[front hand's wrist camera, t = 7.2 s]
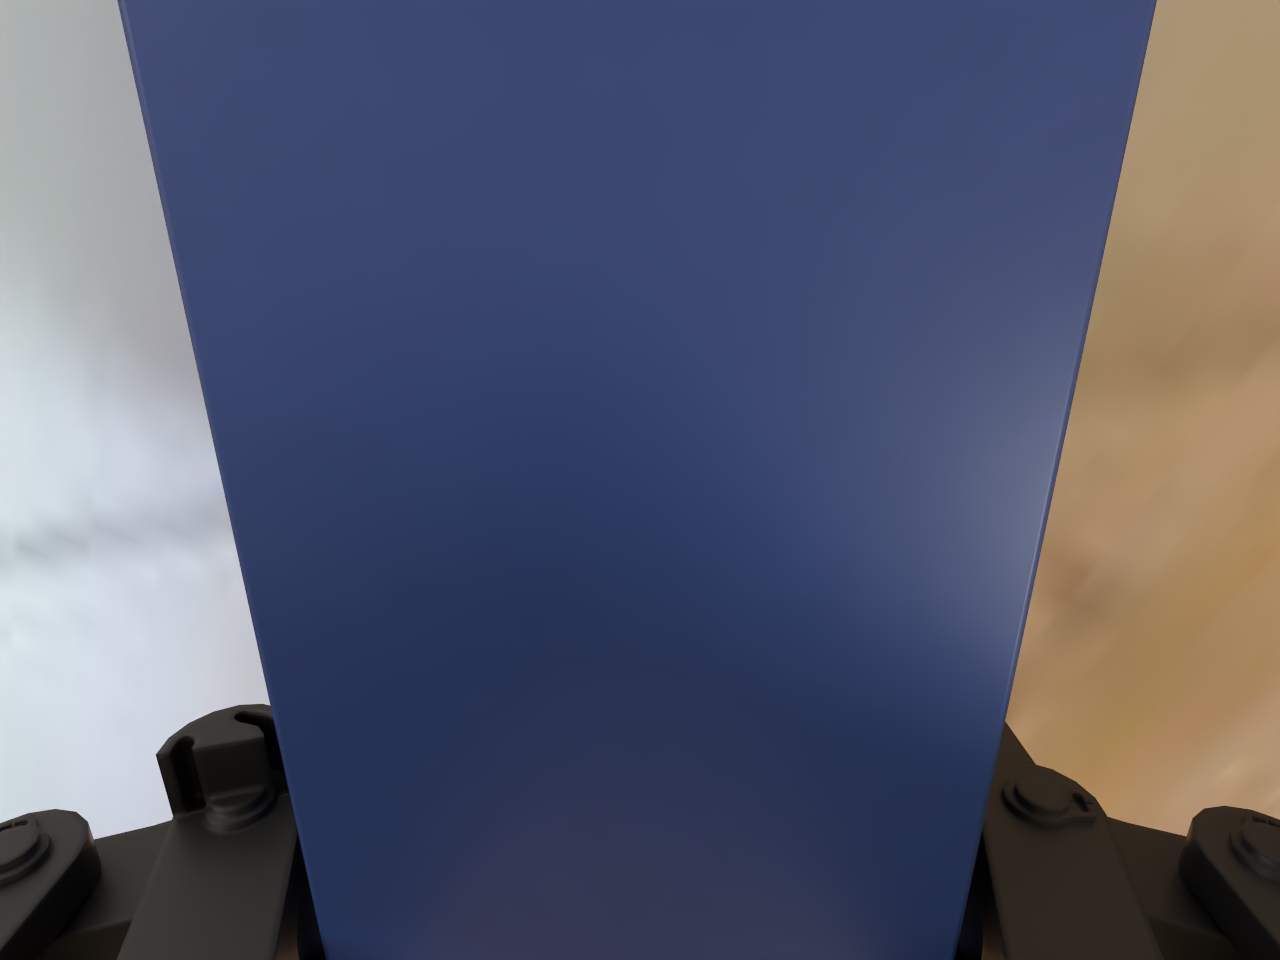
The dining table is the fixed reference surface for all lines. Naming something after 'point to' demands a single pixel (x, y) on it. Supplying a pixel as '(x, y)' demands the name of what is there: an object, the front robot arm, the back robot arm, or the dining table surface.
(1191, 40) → the dining table surface
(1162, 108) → the dining table surface
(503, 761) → the bar
